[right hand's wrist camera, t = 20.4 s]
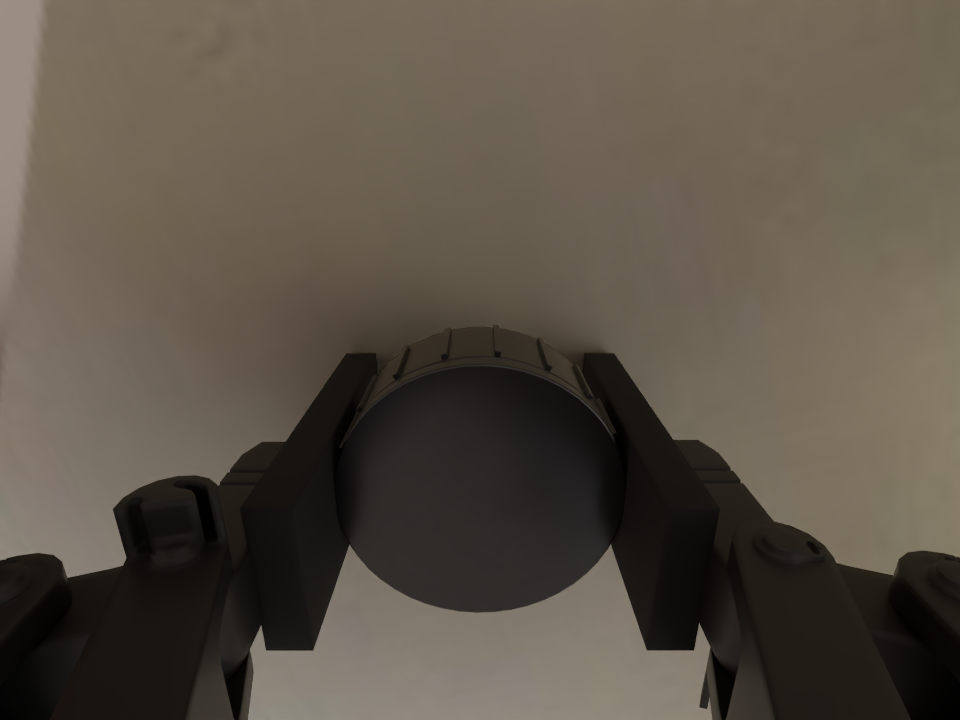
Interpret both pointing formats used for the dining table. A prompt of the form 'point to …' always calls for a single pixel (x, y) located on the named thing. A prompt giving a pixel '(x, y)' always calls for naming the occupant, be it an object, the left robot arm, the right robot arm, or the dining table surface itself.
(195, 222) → the dining table surface
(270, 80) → the dining table surface
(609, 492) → the lid
